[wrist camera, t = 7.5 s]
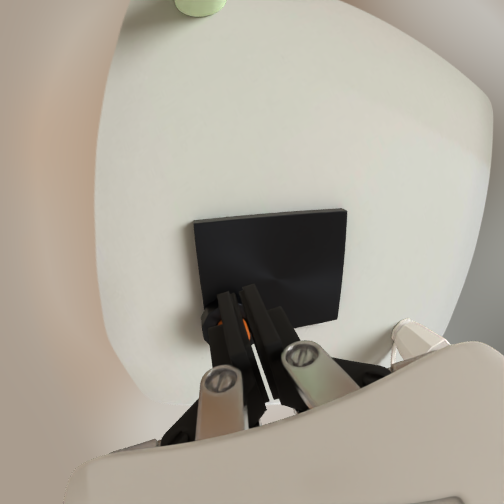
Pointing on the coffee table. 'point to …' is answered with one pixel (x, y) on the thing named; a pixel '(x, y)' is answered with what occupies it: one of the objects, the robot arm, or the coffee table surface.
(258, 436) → the robot arm
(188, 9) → the candle
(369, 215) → the coffee table surface
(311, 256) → the scale
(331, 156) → the coffee table surface
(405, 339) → the cup
